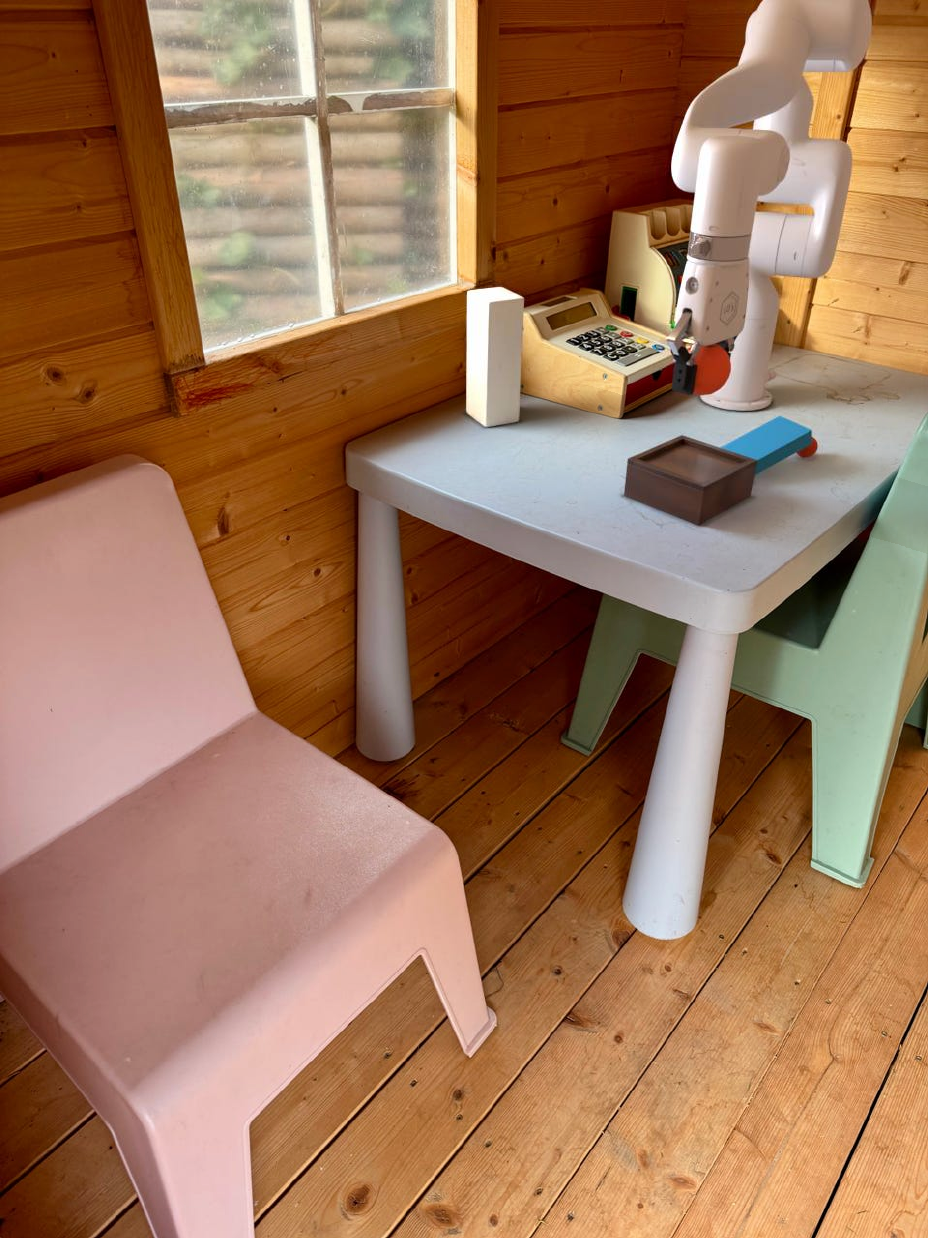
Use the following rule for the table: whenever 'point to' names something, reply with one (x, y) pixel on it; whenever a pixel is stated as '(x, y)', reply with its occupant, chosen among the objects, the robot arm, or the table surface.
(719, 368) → the clementine
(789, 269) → the robot arm
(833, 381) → the table surface
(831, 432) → the table surface
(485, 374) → the tall white pillar block
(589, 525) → the table surface
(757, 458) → the lever
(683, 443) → the tray
